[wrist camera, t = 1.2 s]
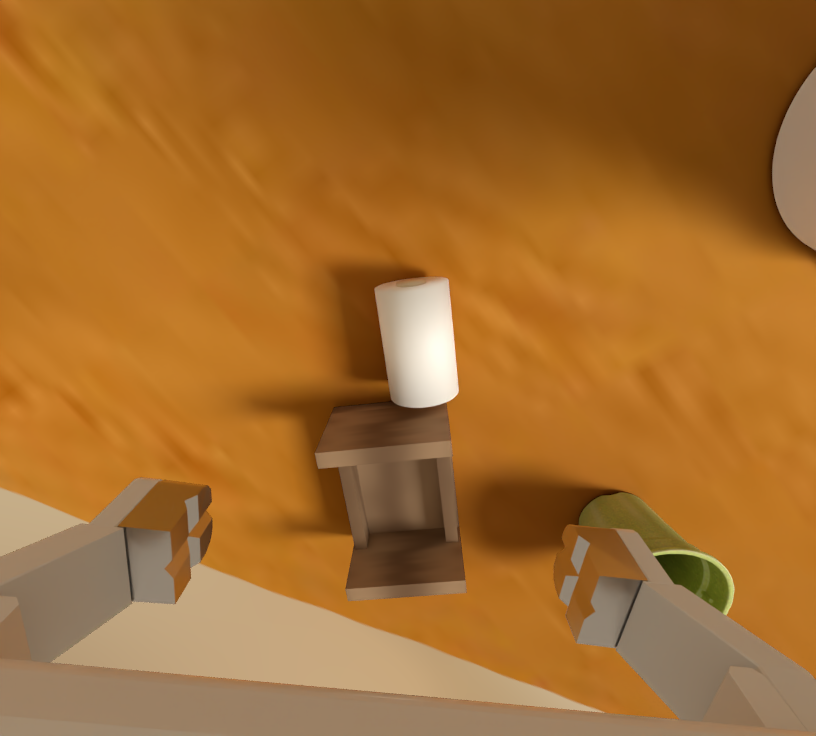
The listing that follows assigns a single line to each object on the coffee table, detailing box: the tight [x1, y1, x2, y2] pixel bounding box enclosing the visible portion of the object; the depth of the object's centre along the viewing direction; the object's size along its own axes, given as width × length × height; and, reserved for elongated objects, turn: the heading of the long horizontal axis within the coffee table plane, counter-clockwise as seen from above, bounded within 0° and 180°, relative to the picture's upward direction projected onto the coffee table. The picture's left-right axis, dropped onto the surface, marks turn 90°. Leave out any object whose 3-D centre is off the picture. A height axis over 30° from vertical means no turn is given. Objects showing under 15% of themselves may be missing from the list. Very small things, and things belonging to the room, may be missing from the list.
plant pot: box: [579, 492, 734, 615], centre depth 35 cm, size 9×9×9 cm
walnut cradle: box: [315, 401, 467, 601], centre depth 34 cm, size 9×13×7 cm
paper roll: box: [374, 277, 459, 408], centre depth 31 cm, size 8×5×5 cm, turn 7°
